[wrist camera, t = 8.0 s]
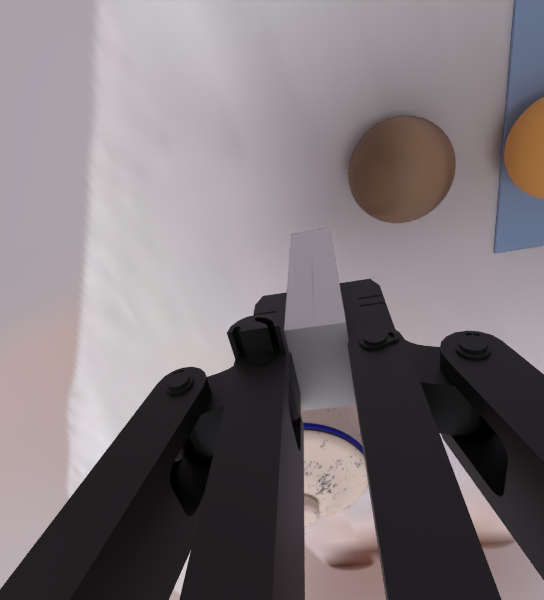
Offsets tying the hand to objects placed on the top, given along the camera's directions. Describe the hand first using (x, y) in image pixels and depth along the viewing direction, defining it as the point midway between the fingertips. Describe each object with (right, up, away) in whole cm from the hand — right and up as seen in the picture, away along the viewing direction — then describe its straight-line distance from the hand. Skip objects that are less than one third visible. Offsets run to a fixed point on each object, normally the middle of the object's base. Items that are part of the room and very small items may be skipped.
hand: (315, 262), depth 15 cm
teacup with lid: (+1, -10, +19) cm, 21 cm away
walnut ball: (+5, +5, +6) cm, 10 cm away
